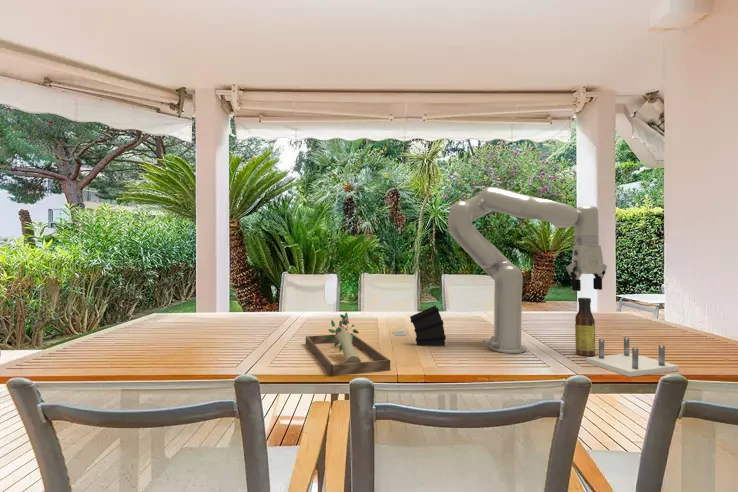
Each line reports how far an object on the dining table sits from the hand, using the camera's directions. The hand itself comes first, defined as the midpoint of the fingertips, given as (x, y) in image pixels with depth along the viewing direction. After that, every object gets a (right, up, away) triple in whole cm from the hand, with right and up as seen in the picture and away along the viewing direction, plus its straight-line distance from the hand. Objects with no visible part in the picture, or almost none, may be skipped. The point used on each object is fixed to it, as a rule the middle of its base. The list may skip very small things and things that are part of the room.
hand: (587, 290), depth 148 cm
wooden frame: (-86, -22, -4) cm, 89 cm away
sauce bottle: (-1, -23, 0) cm, 23 cm away
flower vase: (-85, -22, -4) cm, 88 cm away
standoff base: (+6, -23, -14) cm, 28 cm away
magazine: (-55, -23, +13) cm, 60 cm away
